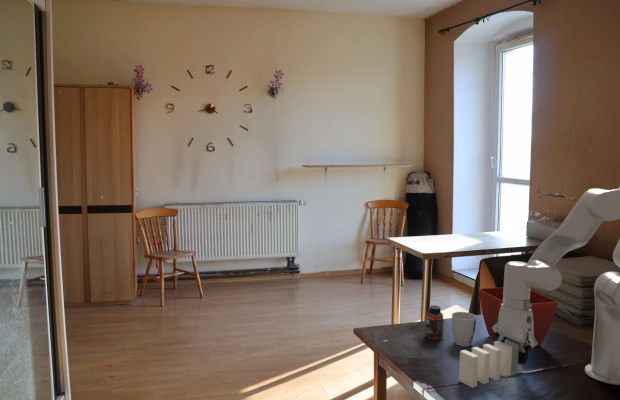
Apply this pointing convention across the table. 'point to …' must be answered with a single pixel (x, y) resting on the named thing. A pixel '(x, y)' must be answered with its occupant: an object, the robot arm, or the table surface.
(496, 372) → the domino
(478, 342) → the table surface
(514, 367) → the domino
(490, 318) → the plant pot
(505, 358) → the domino
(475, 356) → the domino
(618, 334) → the robot arm
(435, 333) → the supplement bottle
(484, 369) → the domino
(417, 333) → the table surface
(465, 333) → the cup
